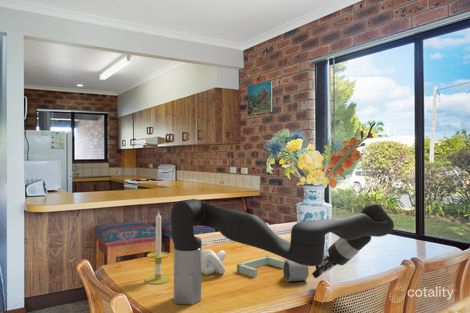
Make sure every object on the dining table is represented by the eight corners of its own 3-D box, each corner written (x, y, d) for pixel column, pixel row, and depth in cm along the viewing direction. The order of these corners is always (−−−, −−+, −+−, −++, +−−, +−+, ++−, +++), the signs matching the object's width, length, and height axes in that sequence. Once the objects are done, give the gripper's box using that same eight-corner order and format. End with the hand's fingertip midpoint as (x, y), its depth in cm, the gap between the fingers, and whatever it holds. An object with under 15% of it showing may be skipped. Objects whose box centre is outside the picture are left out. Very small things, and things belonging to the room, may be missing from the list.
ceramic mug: (309, 282, 138) (309, 262, 138) (289, 284, 136) (289, 263, 136) (298, 274, 149) (298, 255, 149) (279, 275, 147) (279, 256, 147)
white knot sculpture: (233, 275, 147) (233, 252, 147) (206, 279, 141) (206, 256, 141) (220, 267, 157) (220, 246, 157) (195, 271, 151) (195, 250, 151)
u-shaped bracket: (284, 267, 157) (284, 260, 157) (254, 277, 144) (254, 269, 144) (267, 262, 164) (267, 256, 164) (236, 271, 151) (236, 264, 151)
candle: (154, 274, 147) (154, 207, 147) (176, 277, 143) (176, 209, 143) (139, 282, 137) (139, 211, 137) (162, 286, 134) (162, 212, 134)
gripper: (341, 261, 119) (309, 289, 128) (361, 254, 128) (330, 280, 137) (327, 242, 123) (297, 270, 132) (347, 237, 132) (318, 263, 141)
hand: (314, 275), depth 134 cm, fingers closed
